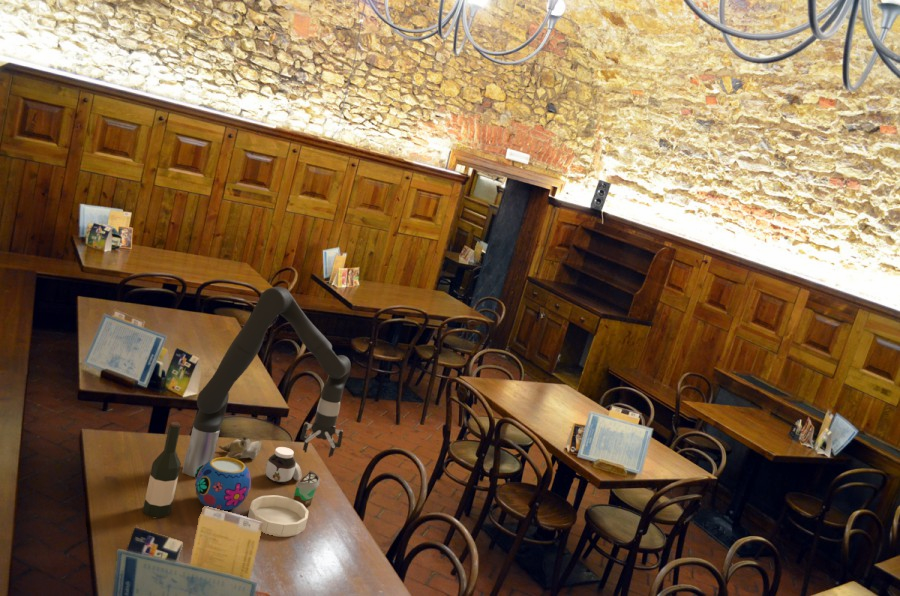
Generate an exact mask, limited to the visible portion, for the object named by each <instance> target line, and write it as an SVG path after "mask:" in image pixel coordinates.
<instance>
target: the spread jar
mask: <svg viewBox="0 0 900 596" xmlns="http://www.w3.org/2000/svg"><path fill="white" fill-rule="evenodd" d="M294 453H295V452H294V450H293V449H291V448H289V447H285V446H278V447H276V448H275V450H274V453H272V454H271V455H270V456H269V458H268V459H267V463H266V467H265V476H266V478H267V479H268V481H269V482H271V483H274V484H278V485H282V484H283V485H285V484H286V483H288V482H290V481H291V480H292V478H293V479H294V480H295V481H300V480H301V479H302V478H303V477H302V476H303V474H302V473H303V472H302V469H301V467H300V465H299V463H297V462H296V460H295V458H294Z"/></svg>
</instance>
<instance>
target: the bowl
mask: <svg viewBox="0 0 900 596" xmlns="http://www.w3.org/2000/svg"><path fill="white" fill-rule="evenodd" d="M309 513H310V512H309V510H308V509H307V507H305V506H304V505H303V504H302V503H300V502H298V501H296V500H294V498H291V497H287V496H284V495H283V496H282V495H277V494H274V495H273V494H272V495H261V496H258V497H256V498H255V499H253V500H251V503H250V507H249V511H248V515H247V518H248V517H251V518H254V519H257V520H261V521H262V522H263V526H262V532H263V533H262V532H261V533H262V534H264V533H265V534H264V535H267V534H269V535H268V536H271V535H273V537H277V538H278V537H280V538H287V537H294V536H297V535H299V534H301V533H302V532H304V530H305V529H306V526H307V524H308V523H307V521H308V517H309Z"/></svg>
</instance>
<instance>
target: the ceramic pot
mask: <svg viewBox="0 0 900 596" xmlns="http://www.w3.org/2000/svg"><path fill="white" fill-rule="evenodd" d="M194 478H195V484H194V485H195V492H196V496H197V498H198V500H199V501H200V503H201V504H202V505H204V506H205V507H207V506H209V507H213V508H217V509H221V510H220V511H228V510H233V509H235V508H238V507H239V506H240V505H241V504H243V502H245V500H246V499H247V497H248V495H249V493H250V490H251V487H252V477H251V473H250V470H249V469H248V467H247V466H246V464H245V463H244V462H243V461H241V460H239V459H233V458H228V457H224V456H222V457H220V456H219V457H216V458H215V457H214V459H212V460H211V461H209V462H207V463H206V464H205V465H201V466H199V467H198V468H197V470H196V472H195V477H194ZM209 507H208V508H209Z"/></svg>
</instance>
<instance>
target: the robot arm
mask: <svg viewBox="0 0 900 596" xmlns="http://www.w3.org/2000/svg"><path fill="white" fill-rule="evenodd" d="M279 315H280V316H281V317H283V319H285V320H286V321H287V322H288V323H289V324H290V326H291V327H292V328H293V330H294V331H295V333H296V335H297V337H298V338H299V340H300V341H301V343H302V344H303V345H304V346H305V348H306V349H307V350H308V351H309V352H310V353H311V354H312V355H313V356H314V357H315V358H316V360H317V362H318V364H319V365H320V367H321V369H323V371H324V373H326V375H327V380H326V381H325V382H324V385H323V387H322V390H321V394H320V399H319V401H318V404H317V408H316V412H315V417H314V421H313V423H309V421H304V424H303V428H302V431H301V433H300V440H301V441H303V442H304V444H303V447H302V450H303V451H304V453H307V450H308V446H309V442H311V440H313V439H314V438H316V439H321V440H324V441H325V440H327V441H328V443H329V445H330V448H329V453H328V456H327V457H328V458H331V457H333V456H334V452H335V448H341V446H342V441H343V440H342V439H343V435H344V429H343V428H341V429H337V428H336V425H337V420H338V417H339V413H340V409H341V401H342V398H343V394H344V389H345V388H344V387H345V385H346V384H347V380H348V378H349V375H350V372H351V367H352V366H351V365H352V364H351V361H350V359H349V357H347V356H346V355H342V354H339V355H337V354H336V353H335V351H334V350H333V345H332V343H331V342H330V341H329V340H328V339H327V338H326V337H325V335H324V334H323V333H322V332H321V331H320V330H319V329H318V328H317V327H316V326H315V325H314V324H313V322H312V321H311V320H310V319H309V318H308V317H307V315H306V314H305V313H304V311H303V310H302V309H301V307H300V306H299V304H298V303H297V301H296V299H295V298H294V297H293V295H292V293H290V291H289V290H288V289H287V288H285V287H284V286H274V287H270V288H267V289H266V290H264V291H263V292H262V293H261V295H260V296H259V299H258V301H257V303H256V305H255V307H254V308H253V311H252V313H251V315H250V317H249V318H248V319H247V321H246V322H245V323H244V324H243V326H242V328H241V329H240V330H239V332H238V334H237V335H236V336H235V338H234V340H233V341H232V342H231V344H230V345H229V347H228V349H227V351H225V354H224V355H223V358H222V360H221V361H220V363H219V365H218V367H217V369H216V371H215V372H214V374H213V375H212V377H211V378H210V380H209V381H208V382H207V383H206V385H205V386H204V387H203V388H202V390H200V392H199V393H198V394H197V398H196V405H197V408H198V412H197V414H196V415H195V417H194V422H193V425H192V429H191V435H190V438H189V439H190V440H189V443H188V446H187V449H186V452H185V458H184V461H183V466H182V471H181V473H182V474H185V475H187V476H189V477H192V478H195V472H196V470H197V468H198V467H199V466H201V465H205V464H206V463H207V462H209V461H211V460H212V459H215V454H216V449H217V446H218V445H217V444H218V440H219V434H220V431H221V426H222V423H223V422H224V420H225V415H226V411H227V409H228V403H229V396H230V393H229V392H230V391H231V389H232V387H233V385H234V384H235V382H237V381H238V379H239V378H240V377H241V376H242V374H244V373H245V372H246V371H247V369H248V368H249V366H250V365H251V364H252V363H253V361H254V359H255V358H256V356H257V355H258V353H259V352H260V350H261V347H262V345H263V343H264V339H265V336H266V333H267V331H268V329H269V328H270V326H271V325H272V323H273V322H274V321H275V319H276V318H277V317H278V316H279ZM309 429H311V431H312V432H311V433H309V434H308V435H307V436H306V432H307V431H309ZM335 433H336V436H337V442H335V439H334V437H333V435H335Z"/></svg>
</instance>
